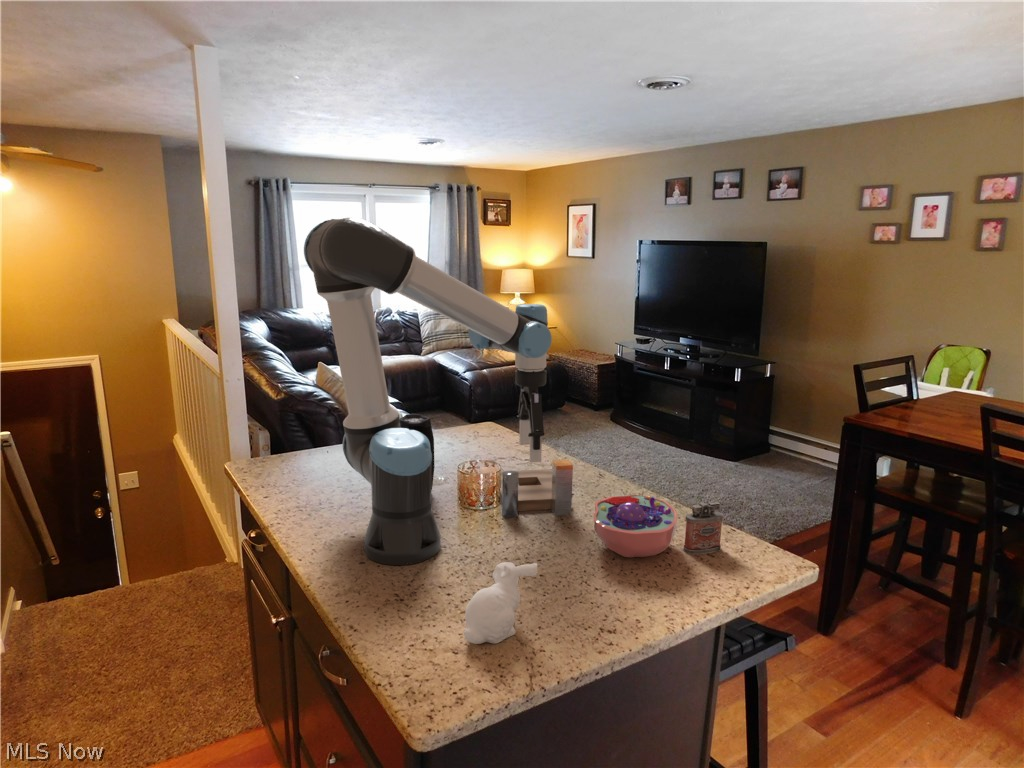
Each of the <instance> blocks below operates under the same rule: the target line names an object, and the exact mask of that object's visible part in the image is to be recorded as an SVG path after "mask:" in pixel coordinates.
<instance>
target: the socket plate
mask: <svg viewBox="0 0 1024 768" xmlns="http://www.w3.org/2000/svg"><path fill="white" fill-rule="evenodd" d="M500 471H501V488H500V499H499V502H500V501H501V502H500V504H501V506H502V480H503V472H505V471H506V470H504V471H503V470H500ZM515 471H516V472H518V473H519V478H518V512H521V511H537V510H539V511H541V510H551V498H552V469H551V468H549V469H548V468H545V469H544V468H543V469H526V470H523V469H522V470H515Z"/></svg>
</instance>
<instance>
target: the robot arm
mask: <svg viewBox="0 0 1024 768" xmlns="http://www.w3.org/2000/svg"><path fill="white" fill-rule="evenodd" d="M303 256H304V259H305V261H306V264H307V266H308V268H309V269H310V271H311V272H312V273H313V277H314V283H315V286H316V293H317V294H318V295H319V296H320V297H322V298H323V299H324V300H325V301H326V302H327V307H328V313H329V317H330V322H331V323H330V324H331V329H332V333H333V339H334V343H335V349H336V354H337V359H338V365H339V370H340V375H341V380H342V385H343V391H344V396H345V401H346V406H347V410H348V415H347V416H346V417H345V418H344V420H343V421H342V425H343V431H344V435H343V438H342V451H343V455H344V457H345V460H346V461H347V463H348V465H350V467H351V468H352V469H353V470H354V471H355V472H356V473H358V474H360V475H361V476H362V478H364V479H365V480H366V481H367V482H368V483H369V484H370V487H371V508H372V509H371V510H372V511H371V517H370V519H369V523H368V526H367V528H366V531H365V536H364V540H363V545H364V548H363V550H364V554H365V556H366V557H368V558H369V560H371V561H373V562H376V563H379V564H382V565H387V566H388V565H389V566H406V565H407V566H408V565H412V564H417V563H421V562H424V561H426V560H429V559H431V558H433V557H434V556H435V555H436V554H438V553H439V551H440V550H441V543H442V542H441V538H442V537H441V533H440V530H439V527H438V525H437V522H436V519H435V516H434V513H433V510H432V491H431V461H432V453H431V448H430V442H429V440H428V438H427V437H426V436H425V435H424V434H422V433H421V432H418V431H416V430H409V429H407V428H401V425H400V416H399V411H397V410H396V409H394V407H392V406H391V404H390V399H389V394H388V388H387V382H386V381H387V380H386V376H385V371H384V364H383V358H382V353H381V348H380V347H381V346H380V341H379V335H378V329H377V323H376V318H375V312H374V306H373V301H372V296H371V295H372V293H373V292H374V290H375V289H378V290H379V291H381V292H382V291H383V292H384V293H386V294H388V295H393V294H396V293H397V294H400V295H401V296H404V297H406V298H407V299H409V300H412V301H414V302H416V303H418V304H419V305H422V306H423V307H425V308H427V309H429V310H432V311H433V312H435V313H437V314H439V315H441V316H443V317H445V318H447V319H449V320H450V321H453V322H455V323H457V324H459V325H461V326H462V327H465V328H467V329H468V339H469V341H470V344H471V346H473V348H475V349H477V350H483V349H484V350H488V349H497V350H500V351H504V352H507V353H512V354H514V357H515V358H514V359H515V360H514V361H515V364H514V367H515V368H516V369H515V373H514V374H515V377H514V379H515V382H514V383H515V384H516V386H518V387H520V393H519V401H518V410H517V415H518V417H519V441H518V442H519V446H523V445H524V446H526V445H527V446H528V445H529V463H541V462H542V445H543V444H542V443H543V442H542V441H543V440H542V439H543V438H542V437H543V436H545V429H544V417H543V415H544V414H543V405H542V404H543V401H542V400H543V399H542V397H543V395H542V393H540V392H539V388H540V387H544V386H545V385H546V384H547V370H546V369H545V368H546V367H547V360H548V359H549V357H550V355H549V354H547V353H548V351H549V350H550V348H551V345H552V340H553V339H552V333H551V330H550V329H549V328H548V325H549V322H548V310H547V307H546V306H545V305H543V304H539V303H522V304H521V303H520V304H518V305H516V307H515V311H513V310H512V309H510V308H509V307H507V306H505V305H504V304H502V303H500V302H498V301H496V300H494V299H493V298H491V297H489V296H487V295H486V294H484V293H482V292H481V291H479V290H477V289H475V288H473V287H471V286H470V285H468V284H465V282H462V281H461V280H459V279H457V278H456V277H453V276H452V275H450V274H448V273H446V272H445V271H443V270H441V269H440V268H438V267H436V266H434V265H432V264H431V263H429V262H427V261H426V260H423V259H421V258H420V257H418V256H416V251H415V249H414V248H413V247H412V246H410V245H409V244H406V243H404V242H403V241H402V240H400V239H398V238H396V237H395V236H394V235H392V234H390V233H389V232H387V231H385V230H384V229H383V228H381V227H380V226H377V225H375V224H374V223H372V222H369V221H368V220H366V219H362V218H357V217H345V218H331V219H327V220H324V221H323V222H320V223H319V224H317V225H316V226H314V227H313V228H312V229H311V230H310V231H309V232H308V234H307V235H306V238H305V240H304V244H303Z"/></svg>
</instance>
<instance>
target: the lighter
mask: <svg viewBox="0 0 1024 768" xmlns="http://www.w3.org/2000/svg"><path fill="white" fill-rule="evenodd" d="M721 505H722V504H721V502H718V501H717V502H708V503H705V502H704V501H700V502H699V503H698V504H695V505H694V504H693V505H692V506H691V511H692V513H687V514H685V521H686V522H685V534H684V535H685V536H684V544H683V548H682V549H683V552H684V553H686V554H688V555H703V554H711V553H716V552H719V551H721V547H722V545H721V539H722V538H721V537H722V536H721V535H722V526H723V525H722V524H723V520H724V514H723V513H722V512H720V511H719V510H721V508H722V506H721Z"/></svg>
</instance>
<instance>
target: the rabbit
mask: <svg viewBox="0 0 1024 768" xmlns="http://www.w3.org/2000/svg"><path fill="white" fill-rule="evenodd" d="M537 573H538V563H537V562H534V563H527V564H521V565H517V566H516V564H515V563H513V562H509V561H508V562H507V561H506V562H505V561H503V562H500V563H498V564H497V565H496V566H495V568H494V571H493V573H492V579H493V580H494V583H493V584H492V585H491V586H489V587H484V588H480V589H479V590H478V591H476V592H475V593H474V595H473V596H472V597H471V599H470V600H469V601H468V603H467V605H466V607H465V612H464V614H465V617H464V619H465V627H466V628H465V629H464V630H463V636H464V640H466V641H467V642H469V643H471V644H476V645H481V644H483V643H490V644H499V643H500V642H503V641H504V640H505V639H508V638H509V637H511V636H512V637H513V636H514V635H515V634H516V633H517V631H516V629H515V627H514V625H515V621H516V612H515V611H517V609H518V608H519V606H520V602H521V593H520V590H519V588H518V584H519V581H520V577H519V576H521V577H535V576H536V575H537Z"/></svg>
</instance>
